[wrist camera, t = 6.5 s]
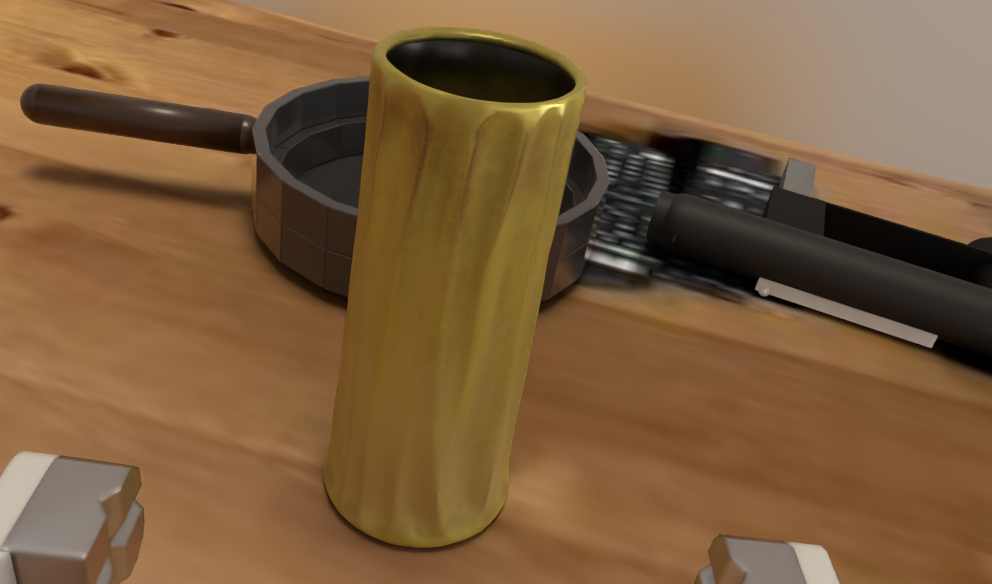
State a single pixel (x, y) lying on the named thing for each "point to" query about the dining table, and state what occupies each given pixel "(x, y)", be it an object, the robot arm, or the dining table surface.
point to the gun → (840, 261)
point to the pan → (337, 178)
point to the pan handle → (138, 118)
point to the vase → (447, 277)
